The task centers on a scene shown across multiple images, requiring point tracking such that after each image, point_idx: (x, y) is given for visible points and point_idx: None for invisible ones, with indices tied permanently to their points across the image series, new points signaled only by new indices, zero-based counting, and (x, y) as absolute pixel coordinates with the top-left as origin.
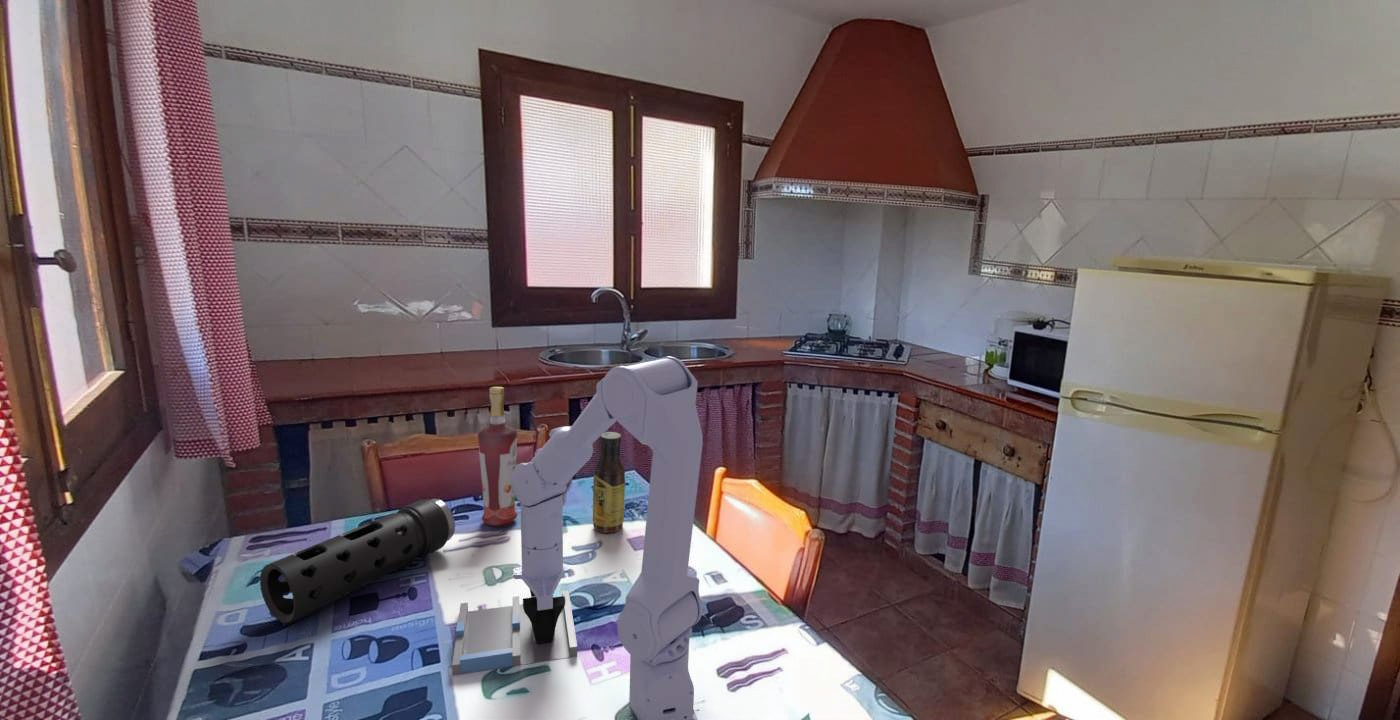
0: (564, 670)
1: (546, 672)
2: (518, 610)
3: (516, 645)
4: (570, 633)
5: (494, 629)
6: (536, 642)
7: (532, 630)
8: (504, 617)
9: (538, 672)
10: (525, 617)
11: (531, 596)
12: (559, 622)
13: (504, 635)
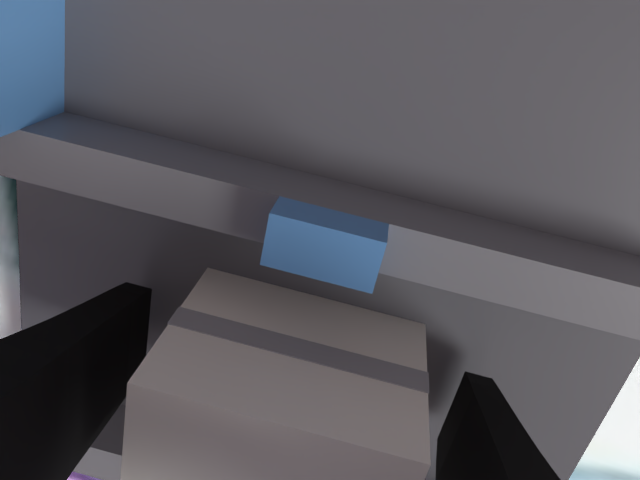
0: (6, 320)
1: (9, 247)
2: (497, 295)
3: (72, 169)
4: (105, 460)
5: (462, 73)
6: (118, 286)
7: (301, 298)
8: (573, 178)
9: (17, 214)
10: (482, 301)
11: (496, 449)
12: None
13: (346, 125)
